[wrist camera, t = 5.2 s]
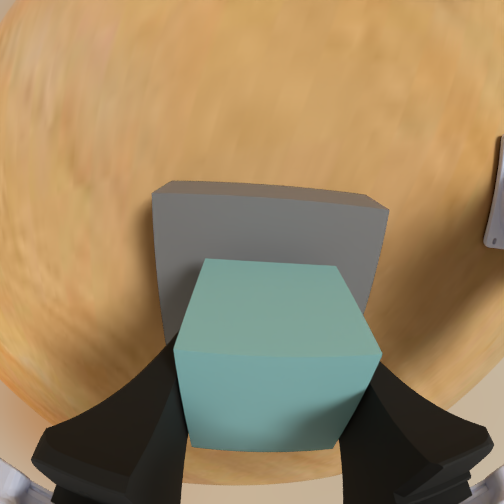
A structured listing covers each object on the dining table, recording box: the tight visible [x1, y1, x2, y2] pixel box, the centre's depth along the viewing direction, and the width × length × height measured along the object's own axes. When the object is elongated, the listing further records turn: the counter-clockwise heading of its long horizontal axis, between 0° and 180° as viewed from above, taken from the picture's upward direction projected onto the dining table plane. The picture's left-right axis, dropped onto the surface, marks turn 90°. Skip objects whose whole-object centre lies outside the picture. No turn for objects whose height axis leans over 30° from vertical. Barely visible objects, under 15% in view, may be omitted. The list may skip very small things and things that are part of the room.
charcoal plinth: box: [152, 181, 389, 345], centre depth 14 cm, size 10×10×3 cm
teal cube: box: [173, 258, 382, 452], centre depth 9 cm, size 5×5×5 cm
